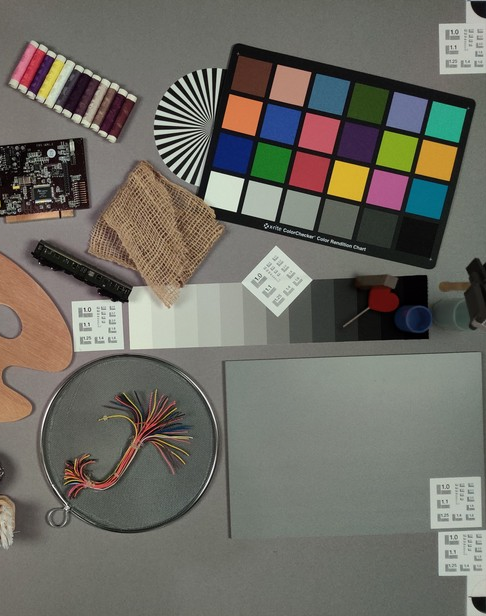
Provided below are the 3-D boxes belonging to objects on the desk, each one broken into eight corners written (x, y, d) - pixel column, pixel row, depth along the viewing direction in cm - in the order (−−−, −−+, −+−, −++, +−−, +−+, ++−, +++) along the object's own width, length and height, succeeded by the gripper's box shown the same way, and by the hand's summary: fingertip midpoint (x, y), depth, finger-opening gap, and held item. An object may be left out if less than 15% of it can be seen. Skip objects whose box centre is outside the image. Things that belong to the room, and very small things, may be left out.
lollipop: (351, 339, 144) (401, 303, 144) (353, 340, 143) (403, 303, 143) (332, 313, 143) (382, 277, 143) (334, 313, 143) (384, 276, 143)
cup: (424, 327, 144) (450, 329, 134) (428, 295, 144) (455, 295, 134) (455, 331, 144) (483, 334, 134) (459, 300, 144) (489, 300, 134)
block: (366, 279, 144) (398, 278, 130) (362, 289, 144) (394, 289, 130) (356, 276, 144) (387, 274, 130) (352, 286, 144) (383, 285, 130)
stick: (449, 283, 115) (530, 281, 95) (446, 293, 115) (526, 292, 95) (440, 280, 115) (519, 276, 95) (436, 289, 115) (514, 288, 95)
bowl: (423, 310, 144) (436, 311, 139) (414, 335, 144) (426, 336, 139) (399, 301, 144) (411, 301, 139) (390, 326, 144) (402, 327, 139)
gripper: (467, 369, 92) (426, 271, 109) (557, 389, 93) (502, 287, 109) (500, 339, 87) (452, 240, 103) (595, 360, 87) (531, 258, 104)
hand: (478, 264), depth 106 cm, fingers closed on stick, 2 cm apart
